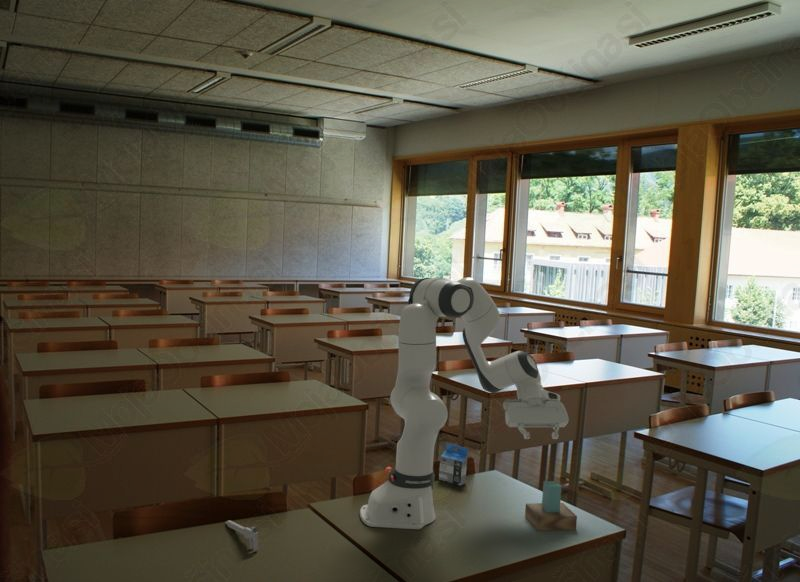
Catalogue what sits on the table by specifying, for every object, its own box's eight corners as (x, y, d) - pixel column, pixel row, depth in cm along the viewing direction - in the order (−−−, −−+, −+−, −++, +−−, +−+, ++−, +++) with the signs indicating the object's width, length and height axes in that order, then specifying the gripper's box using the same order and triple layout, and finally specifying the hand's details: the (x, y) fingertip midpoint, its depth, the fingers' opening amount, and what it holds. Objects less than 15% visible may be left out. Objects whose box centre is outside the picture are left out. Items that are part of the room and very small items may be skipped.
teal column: (546, 512, 200) (548, 486, 200) (541, 507, 204) (543, 481, 203) (559, 512, 201) (561, 486, 200) (554, 506, 205) (556, 481, 204)
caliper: (258, 552, 174) (259, 529, 174) (254, 553, 174) (255, 530, 173) (228, 523, 191) (229, 501, 190) (224, 524, 190) (225, 502, 190)
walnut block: (537, 530, 197) (538, 517, 196) (525, 516, 207) (525, 503, 206) (576, 529, 199) (576, 516, 199) (561, 515, 209) (562, 502, 209)
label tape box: (438, 480, 234) (440, 445, 233) (444, 477, 237) (446, 442, 236) (460, 486, 229) (462, 450, 228) (466, 483, 232) (468, 448, 231)
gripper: (504, 394, 216) (512, 433, 207) (564, 395, 220) (575, 433, 211) (499, 404, 221) (507, 443, 212) (557, 405, 225) (568, 442, 216)
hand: (541, 438), depth 211 cm, fingers open, 8 cm apart
